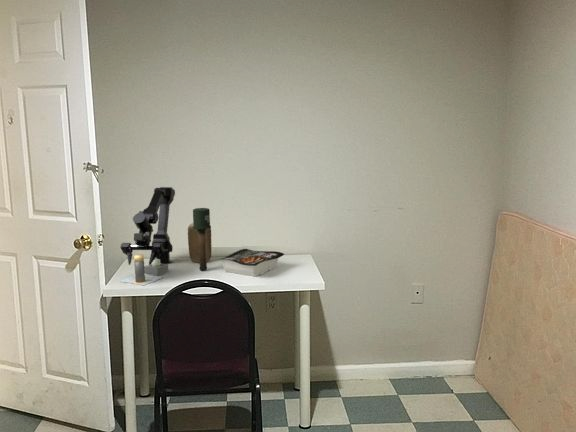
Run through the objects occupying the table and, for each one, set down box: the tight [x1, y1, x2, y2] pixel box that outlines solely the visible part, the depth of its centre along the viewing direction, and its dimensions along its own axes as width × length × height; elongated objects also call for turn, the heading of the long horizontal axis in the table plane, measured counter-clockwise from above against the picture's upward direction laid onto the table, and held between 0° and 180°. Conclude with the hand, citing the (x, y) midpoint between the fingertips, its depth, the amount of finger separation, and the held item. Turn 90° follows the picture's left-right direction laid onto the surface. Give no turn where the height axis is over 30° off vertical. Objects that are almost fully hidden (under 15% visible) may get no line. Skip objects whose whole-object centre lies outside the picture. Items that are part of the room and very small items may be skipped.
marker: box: [133, 253, 146, 283], centre depth 269 cm, size 4×4×12 cm
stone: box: [187, 222, 212, 263], centre depth 304 cm, size 12×7×20 cm, turn 99°
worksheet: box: [119, 274, 163, 287], centre depth 274 cm, size 13×14×1 cm
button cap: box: [151, 258, 160, 267], centre depth 286 cm, size 4×4×5 cm
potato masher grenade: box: [192, 207, 212, 272], centre depth 287 cm, size 8×9×30 cm
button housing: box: [144, 263, 169, 277], centre depth 286 cm, size 8×8×4 cm
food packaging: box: [216, 248, 285, 277], centre depth 289 cm, size 25×8×23 cm
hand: (139, 264), depth 269 cm, fingers open, 9 cm apart
